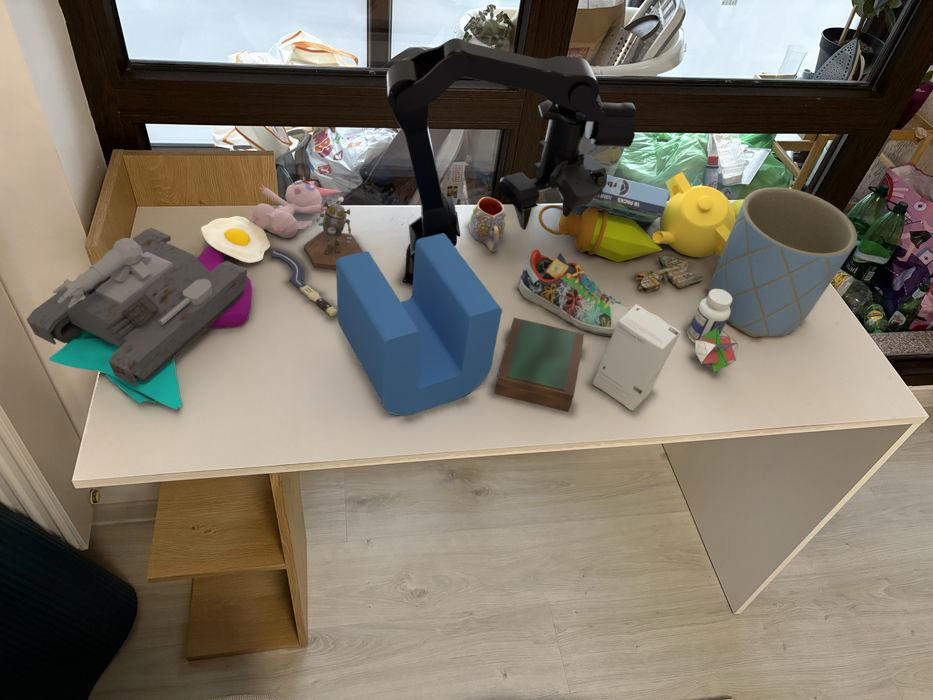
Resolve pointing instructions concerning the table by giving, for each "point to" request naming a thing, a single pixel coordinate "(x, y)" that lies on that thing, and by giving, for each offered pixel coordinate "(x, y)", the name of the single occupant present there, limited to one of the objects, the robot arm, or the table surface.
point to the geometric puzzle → (715, 350)
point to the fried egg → (237, 238)
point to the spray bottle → (242, 307)
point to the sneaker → (569, 294)
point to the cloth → (96, 356)
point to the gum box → (631, 199)
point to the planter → (781, 259)
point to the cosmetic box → (635, 356)
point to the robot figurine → (332, 238)
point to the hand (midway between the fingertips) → (544, 221)
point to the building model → (667, 275)
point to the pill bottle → (710, 314)
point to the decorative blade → (296, 280)
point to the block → (419, 327)
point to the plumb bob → (604, 234)
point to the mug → (488, 222)
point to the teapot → (695, 219)
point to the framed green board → (540, 364)
